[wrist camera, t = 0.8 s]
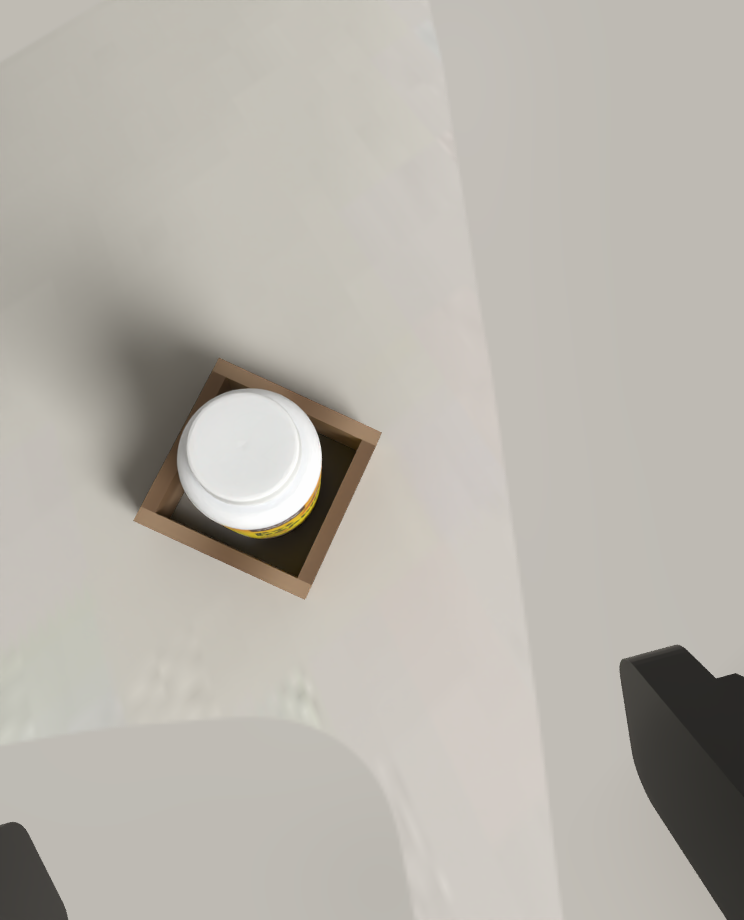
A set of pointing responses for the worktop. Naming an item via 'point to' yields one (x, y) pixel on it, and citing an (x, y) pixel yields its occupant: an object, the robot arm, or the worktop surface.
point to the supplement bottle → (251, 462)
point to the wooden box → (158, 518)
